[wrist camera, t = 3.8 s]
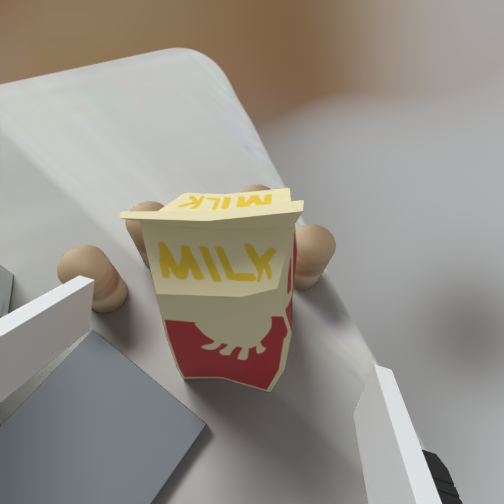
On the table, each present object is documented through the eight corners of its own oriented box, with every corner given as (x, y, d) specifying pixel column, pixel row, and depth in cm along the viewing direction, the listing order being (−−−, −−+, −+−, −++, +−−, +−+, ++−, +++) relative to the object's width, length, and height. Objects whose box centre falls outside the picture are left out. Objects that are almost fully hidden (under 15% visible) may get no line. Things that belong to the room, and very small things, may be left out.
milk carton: (286, 290, 33) (355, 126, 15) (275, 394, 29) (353, 338, 11) (191, 274, 33) (147, 94, 15) (166, 376, 29) (65, 292, 11)
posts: (85, 315, 31) (54, 291, 25) (90, 235, 34) (65, 199, 29) (322, 287, 33) (340, 260, 28) (304, 215, 37) (317, 179, 31)
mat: (-28, 466, 25) (-40, 467, 24) (97, 333, 30) (93, 329, 29) (89, 591, 22) (82, 600, 21) (206, 424, 27) (206, 423, 26)
